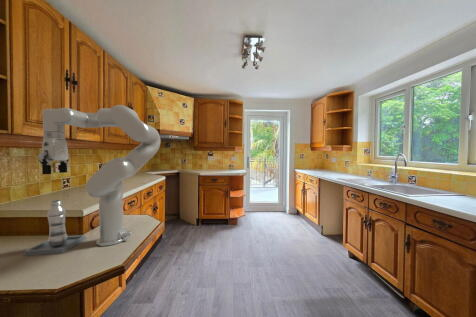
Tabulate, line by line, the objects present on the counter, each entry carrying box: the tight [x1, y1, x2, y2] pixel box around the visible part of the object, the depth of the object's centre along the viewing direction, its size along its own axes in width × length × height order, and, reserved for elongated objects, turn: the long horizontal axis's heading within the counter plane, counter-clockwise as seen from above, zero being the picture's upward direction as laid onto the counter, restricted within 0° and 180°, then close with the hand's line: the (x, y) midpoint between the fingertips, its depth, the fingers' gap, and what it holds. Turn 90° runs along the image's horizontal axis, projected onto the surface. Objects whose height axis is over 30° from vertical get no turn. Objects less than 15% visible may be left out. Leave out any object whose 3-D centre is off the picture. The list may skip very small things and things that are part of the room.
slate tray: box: [23, 235, 87, 257], centre depth 91 cm, size 15×15×2 cm
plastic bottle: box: [46, 199, 68, 246], centre depth 91 cm, size 6×7×20 cm
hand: (55, 173), depth 94 cm, fingers open, 9 cm apart
